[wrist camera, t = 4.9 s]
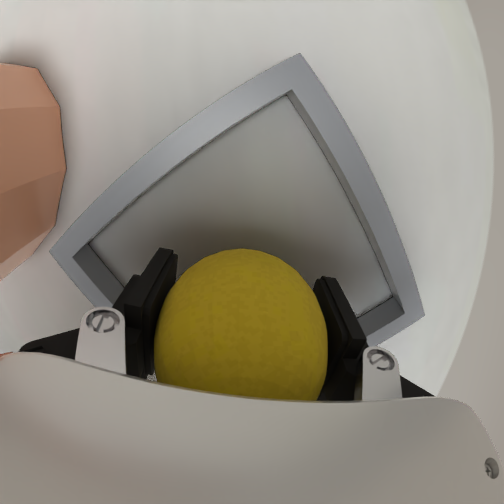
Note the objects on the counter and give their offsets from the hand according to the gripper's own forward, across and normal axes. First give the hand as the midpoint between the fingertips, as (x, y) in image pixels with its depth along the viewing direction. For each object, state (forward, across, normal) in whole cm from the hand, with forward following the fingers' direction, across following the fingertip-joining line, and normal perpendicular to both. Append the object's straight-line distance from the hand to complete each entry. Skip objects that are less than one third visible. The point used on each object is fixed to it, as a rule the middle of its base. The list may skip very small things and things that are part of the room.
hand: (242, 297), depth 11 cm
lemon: (+2, 0, 0) cm, 2 cm away
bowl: (+2, +15, -4) cm, 15 cm away
